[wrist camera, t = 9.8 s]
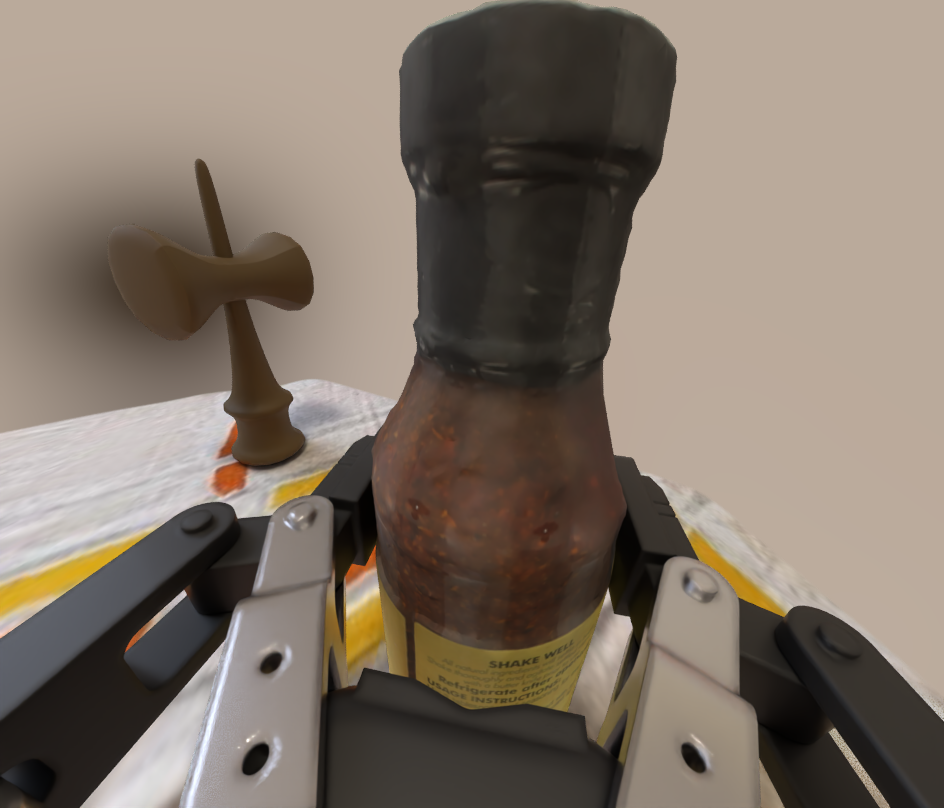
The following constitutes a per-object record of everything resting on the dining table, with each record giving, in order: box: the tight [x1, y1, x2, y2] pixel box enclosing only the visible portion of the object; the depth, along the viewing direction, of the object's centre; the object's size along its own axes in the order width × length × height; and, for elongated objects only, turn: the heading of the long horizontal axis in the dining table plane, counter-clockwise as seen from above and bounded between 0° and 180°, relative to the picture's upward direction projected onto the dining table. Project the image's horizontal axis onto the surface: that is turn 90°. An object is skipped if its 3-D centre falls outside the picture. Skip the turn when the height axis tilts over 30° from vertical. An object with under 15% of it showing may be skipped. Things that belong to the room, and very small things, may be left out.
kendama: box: [107, 159, 314, 466], centre depth 23 cm, size 6×10×20 cm, turn 158°
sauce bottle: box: [371, 0, 677, 712], centre depth 9 cm, size 6×6×20 cm
